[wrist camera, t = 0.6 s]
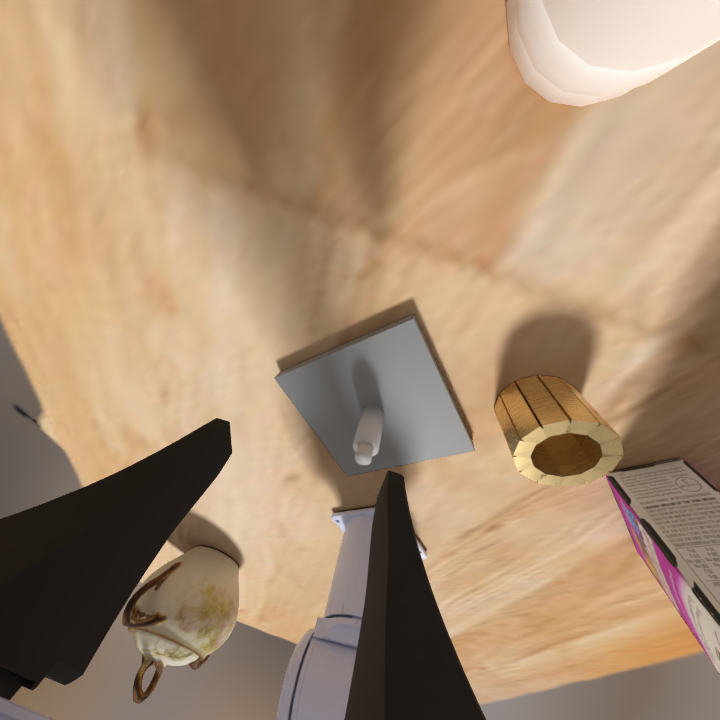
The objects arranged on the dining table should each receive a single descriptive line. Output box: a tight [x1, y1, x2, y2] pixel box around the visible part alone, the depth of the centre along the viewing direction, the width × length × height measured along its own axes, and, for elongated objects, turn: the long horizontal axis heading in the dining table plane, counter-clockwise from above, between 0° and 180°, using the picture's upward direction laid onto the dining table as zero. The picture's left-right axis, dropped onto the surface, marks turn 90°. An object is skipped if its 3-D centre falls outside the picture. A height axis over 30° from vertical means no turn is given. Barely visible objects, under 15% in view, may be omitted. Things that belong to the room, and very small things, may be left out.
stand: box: [274, 314, 475, 476], centre depth 19 cm, size 12×12×6 cm
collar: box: [494, 375, 624, 487], centre depth 17 cm, size 5×5×4 cm
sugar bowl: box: [122, 546, 239, 704], centre depth 38 cm, size 20×15×15 cm
